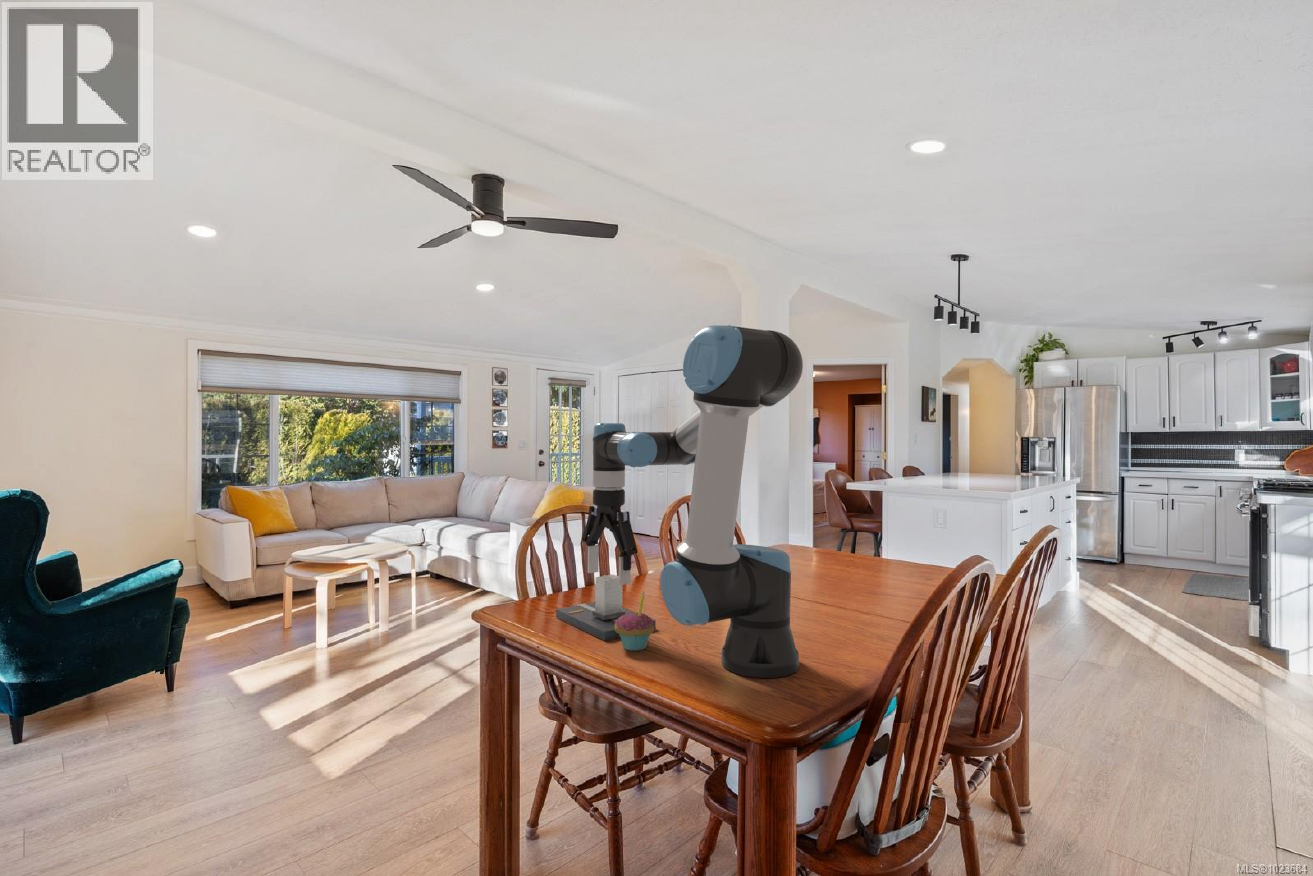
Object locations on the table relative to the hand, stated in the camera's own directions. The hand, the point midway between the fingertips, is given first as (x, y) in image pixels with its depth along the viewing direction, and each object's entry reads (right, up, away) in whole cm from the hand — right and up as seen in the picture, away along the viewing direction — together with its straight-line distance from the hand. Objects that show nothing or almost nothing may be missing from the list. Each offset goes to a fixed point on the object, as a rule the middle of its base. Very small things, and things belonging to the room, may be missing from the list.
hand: (608, 578), depth 151 cm
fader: (0, -9, 0) cm, 9 cm away
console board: (-1, -11, +1) cm, 11 cm away
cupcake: (+7, -12, -15) cm, 20 cm away
